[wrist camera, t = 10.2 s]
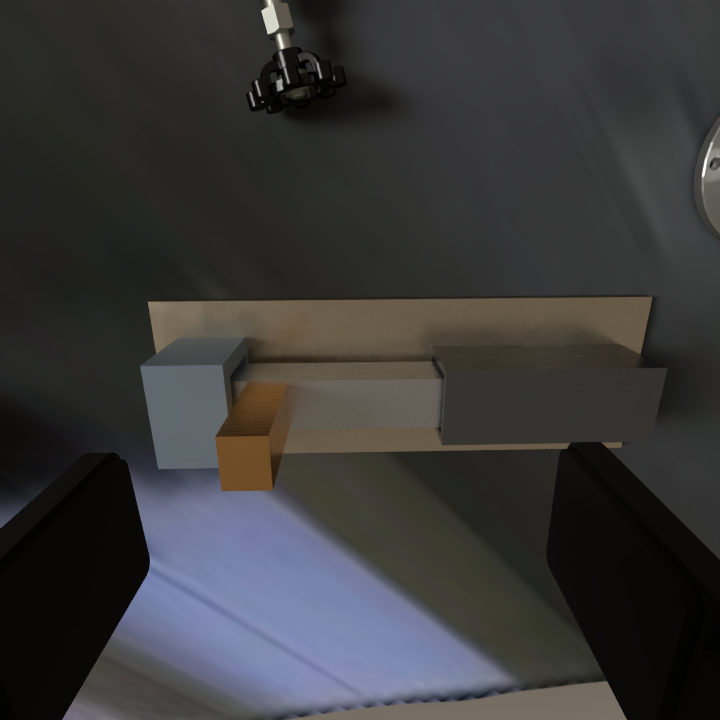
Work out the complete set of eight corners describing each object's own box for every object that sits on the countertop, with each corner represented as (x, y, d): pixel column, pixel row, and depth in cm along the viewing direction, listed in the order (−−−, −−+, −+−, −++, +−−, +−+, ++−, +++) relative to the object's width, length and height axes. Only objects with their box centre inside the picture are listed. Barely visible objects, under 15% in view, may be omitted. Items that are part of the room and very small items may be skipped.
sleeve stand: (644, 294, 37) (708, 313, 31) (614, 442, 42) (664, 486, 35) (153, 299, 36) (109, 319, 30) (176, 449, 41) (143, 495, 34)
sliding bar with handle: (481, 360, 37) (540, 428, 25) (477, 404, 38) (531, 488, 27) (201, 364, 36) (133, 435, 25) (207, 408, 37) (145, 495, 26)
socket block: (245, 336, 37) (222, 365, 30) (253, 423, 39) (233, 467, 32) (178, 337, 36) (140, 366, 30) (190, 424, 39) (158, 468, 32)
